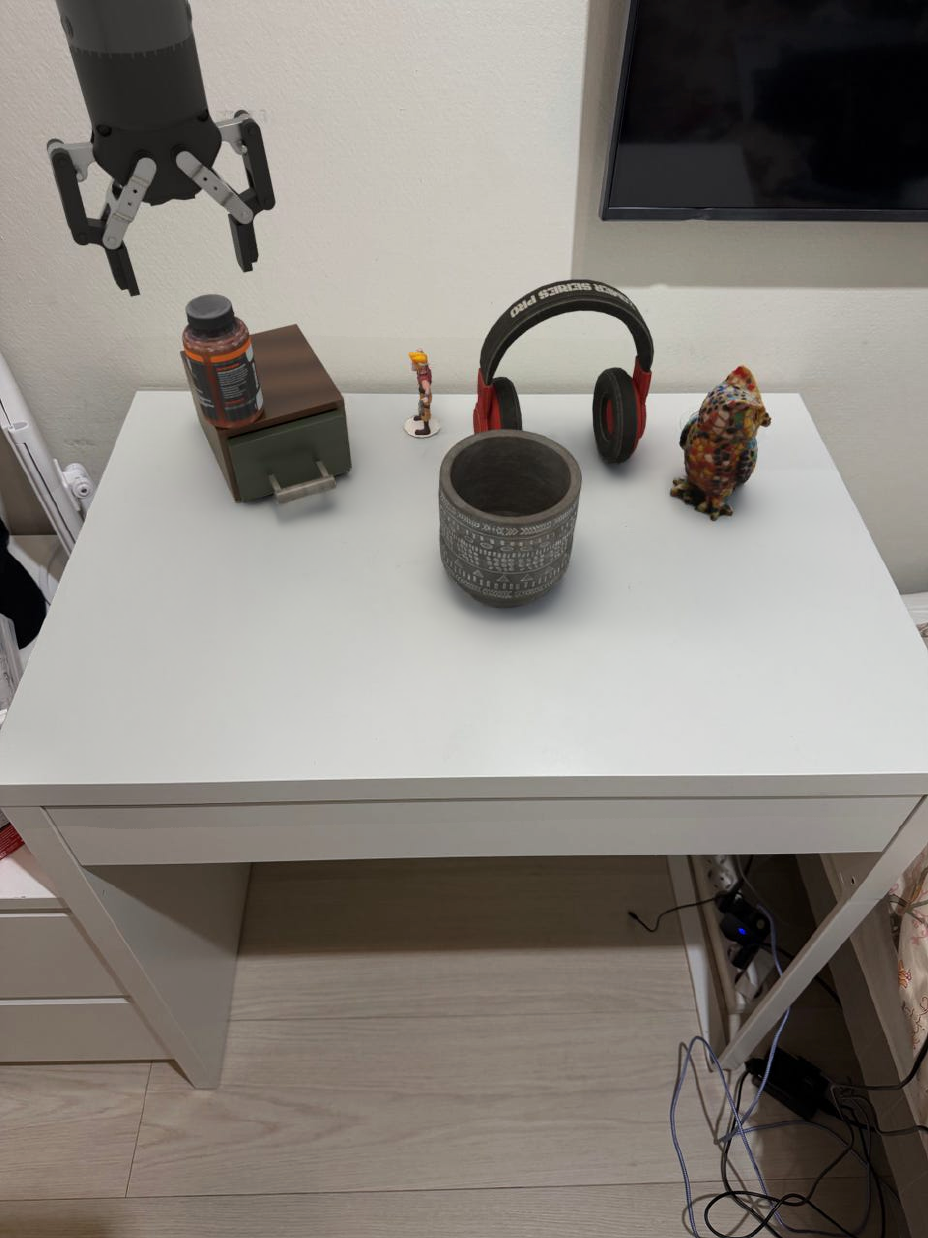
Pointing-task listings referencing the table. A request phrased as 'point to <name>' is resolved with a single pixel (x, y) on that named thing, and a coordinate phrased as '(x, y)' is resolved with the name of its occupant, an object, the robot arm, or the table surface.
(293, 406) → the cabinet
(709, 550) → the table surface
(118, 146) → the robot arm
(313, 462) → the drawer
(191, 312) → the supplement bottle
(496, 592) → the planter
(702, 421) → the figurine
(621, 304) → the headphones
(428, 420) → the action figure
